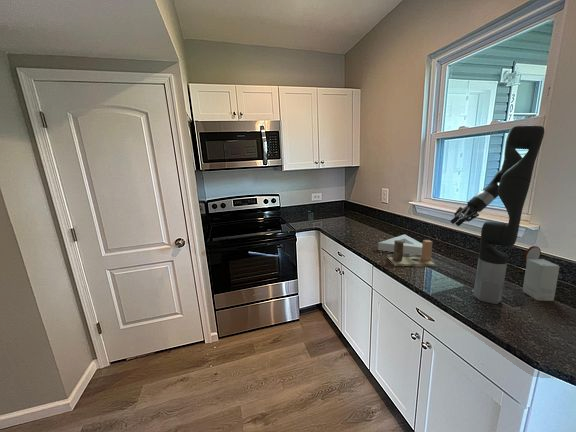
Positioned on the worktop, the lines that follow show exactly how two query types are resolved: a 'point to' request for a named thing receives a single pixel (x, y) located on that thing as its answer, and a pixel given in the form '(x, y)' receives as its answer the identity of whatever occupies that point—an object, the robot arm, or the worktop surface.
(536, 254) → the magnifying glass
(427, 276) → the worktop surface
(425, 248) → the block
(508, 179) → the robot arm
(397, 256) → the fixed leg
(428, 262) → the board
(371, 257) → the worktop surface
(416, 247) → the triangle block
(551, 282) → the skincare box
